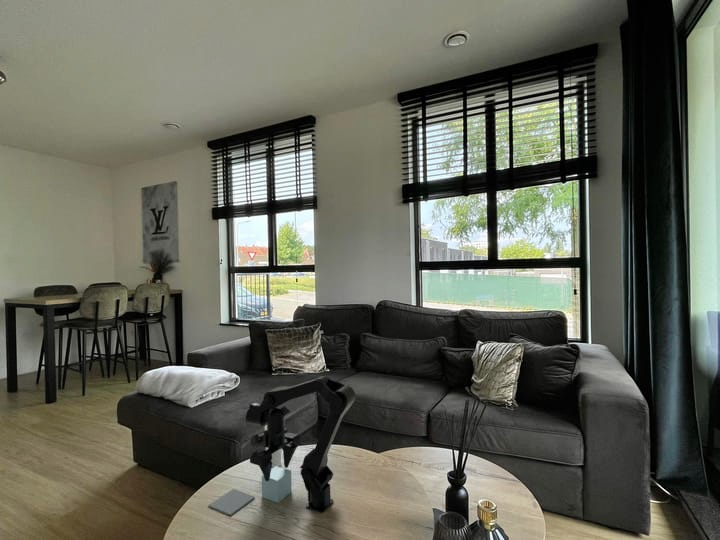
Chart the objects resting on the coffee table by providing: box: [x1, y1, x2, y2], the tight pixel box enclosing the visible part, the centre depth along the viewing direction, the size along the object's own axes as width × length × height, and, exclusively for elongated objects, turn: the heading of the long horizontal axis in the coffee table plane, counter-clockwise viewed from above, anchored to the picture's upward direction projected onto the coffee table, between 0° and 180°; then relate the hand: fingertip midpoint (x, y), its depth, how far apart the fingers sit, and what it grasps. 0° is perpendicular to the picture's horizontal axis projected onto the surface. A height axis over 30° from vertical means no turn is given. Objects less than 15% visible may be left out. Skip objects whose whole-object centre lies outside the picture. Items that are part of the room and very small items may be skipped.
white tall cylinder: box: [264, 424, 283, 469], centre depth 141 cm, size 7×7×15 cm
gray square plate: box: [208, 488, 256, 517], centre depth 118 cm, size 10×10×1 cm
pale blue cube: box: [261, 466, 293, 504], centre depth 122 cm, size 7×7×7 cm
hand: (276, 474), depth 122 cm, fingers open, 9 cm apart
